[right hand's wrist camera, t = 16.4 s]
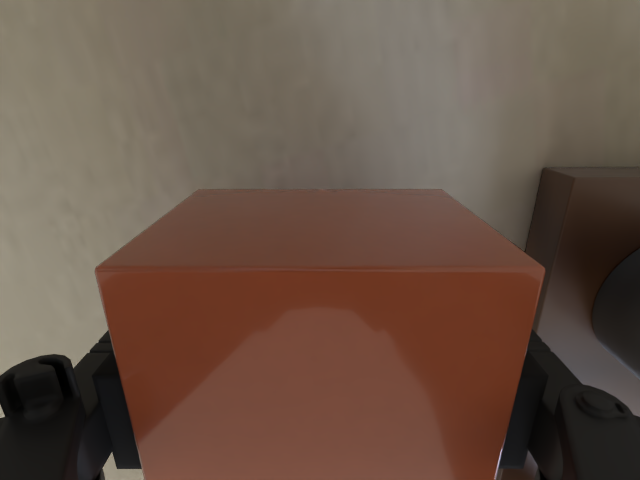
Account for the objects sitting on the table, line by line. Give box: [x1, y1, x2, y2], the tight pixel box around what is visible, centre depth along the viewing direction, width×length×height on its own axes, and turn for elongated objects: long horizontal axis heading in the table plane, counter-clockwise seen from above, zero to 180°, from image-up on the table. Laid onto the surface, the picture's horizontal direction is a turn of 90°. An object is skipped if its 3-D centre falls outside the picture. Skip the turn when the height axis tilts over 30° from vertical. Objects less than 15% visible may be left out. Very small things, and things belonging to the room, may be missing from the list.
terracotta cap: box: [95, 189, 545, 480], centre depth 11 cm, size 8×8×6 cm
